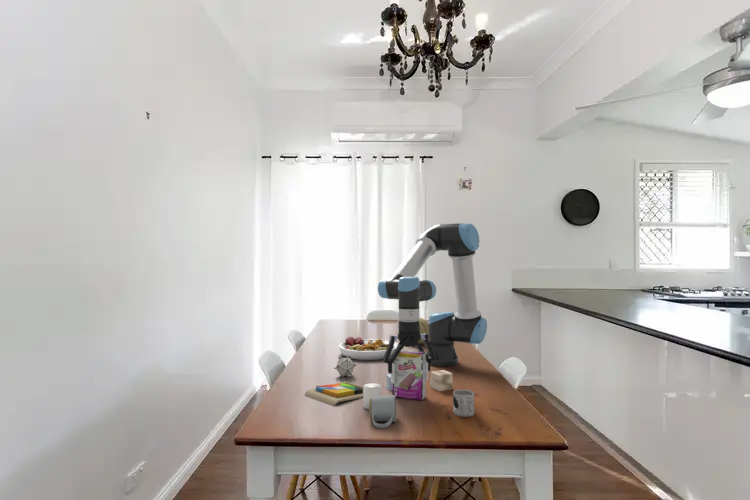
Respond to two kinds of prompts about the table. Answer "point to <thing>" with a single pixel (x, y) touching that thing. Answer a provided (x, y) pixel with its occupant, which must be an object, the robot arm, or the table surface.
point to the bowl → (365, 348)
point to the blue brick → (389, 382)
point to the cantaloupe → (423, 329)
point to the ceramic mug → (382, 410)
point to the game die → (345, 366)
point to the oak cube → (441, 380)
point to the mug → (463, 403)
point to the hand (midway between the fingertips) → (409, 381)
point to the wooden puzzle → (336, 392)
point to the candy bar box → (410, 375)
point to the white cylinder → (370, 393)
